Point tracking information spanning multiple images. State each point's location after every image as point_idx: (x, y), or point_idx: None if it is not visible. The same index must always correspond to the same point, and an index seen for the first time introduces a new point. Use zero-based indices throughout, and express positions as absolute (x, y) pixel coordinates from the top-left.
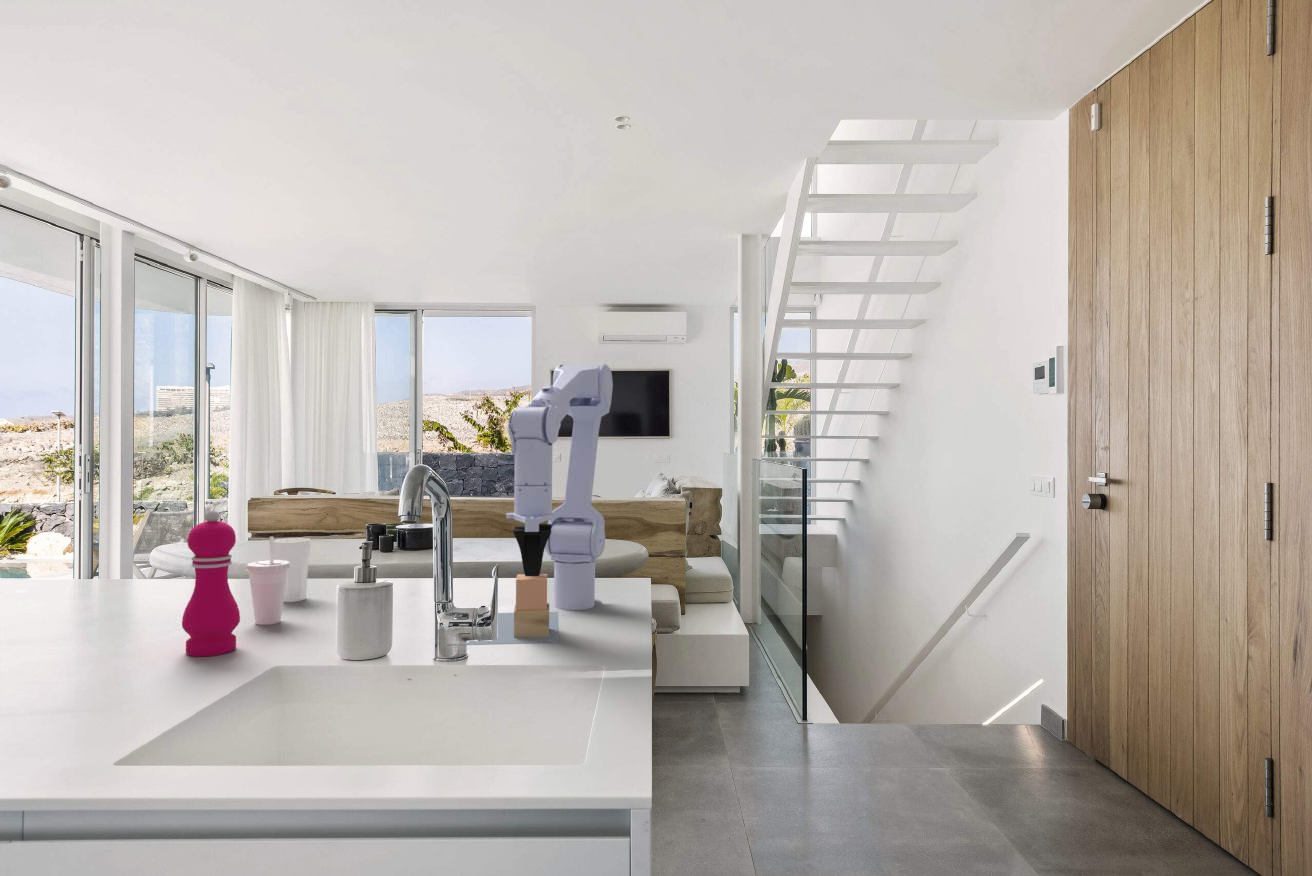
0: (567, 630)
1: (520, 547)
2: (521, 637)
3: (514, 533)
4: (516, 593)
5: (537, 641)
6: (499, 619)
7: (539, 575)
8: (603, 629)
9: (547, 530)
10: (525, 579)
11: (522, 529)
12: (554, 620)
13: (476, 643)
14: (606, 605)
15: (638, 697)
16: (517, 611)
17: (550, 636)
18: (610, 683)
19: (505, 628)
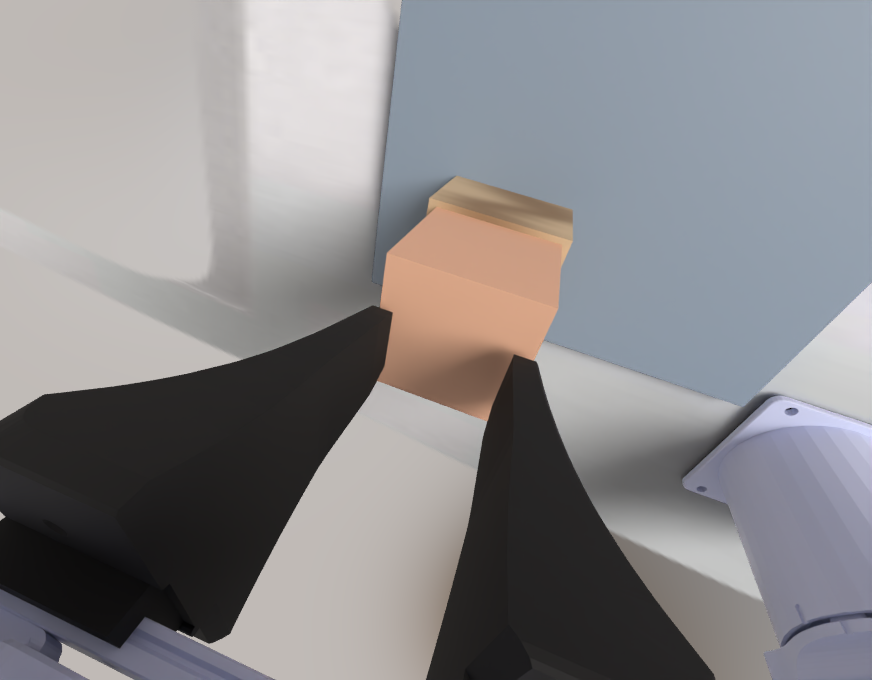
0: (544, 355)
1: (205, 372)
2: None
3: (8, 418)
4: (411, 230)
5: (393, 234)
6: (788, 184)
7: (475, 388)
8: None
9: (200, 633)
10: (384, 298)
11: (74, 537)
12: (623, 357)
13: (415, 5)
14: None
15: (101, 290)
16: (428, 210)
17: None
18: (152, 280)
19: (601, 174)
